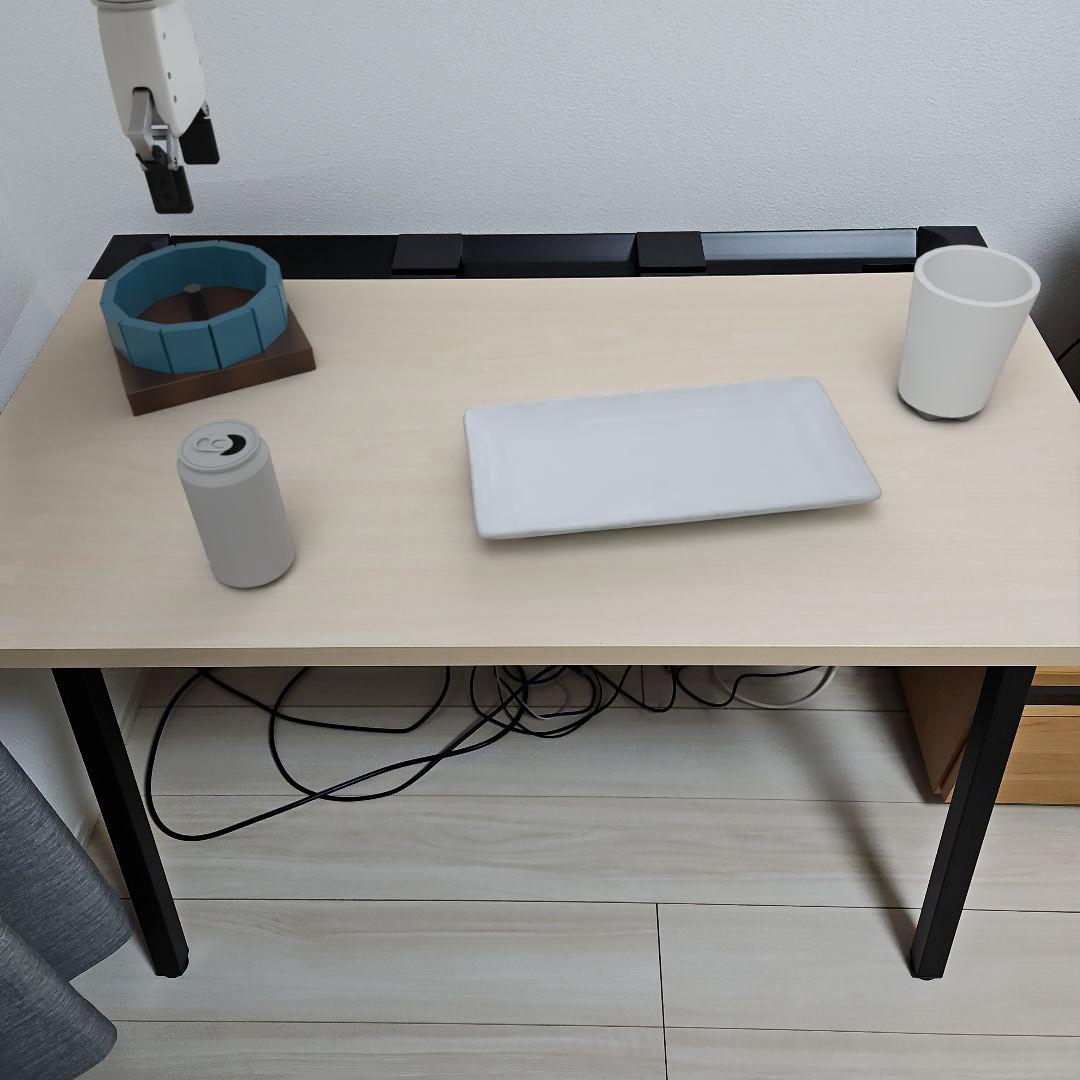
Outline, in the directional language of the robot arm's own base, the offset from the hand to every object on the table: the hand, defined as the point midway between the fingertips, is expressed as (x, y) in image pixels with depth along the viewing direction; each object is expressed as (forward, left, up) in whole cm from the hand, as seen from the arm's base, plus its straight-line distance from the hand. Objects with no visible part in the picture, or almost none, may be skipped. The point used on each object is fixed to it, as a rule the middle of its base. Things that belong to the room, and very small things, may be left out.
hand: (189, 186), depth 93 cm
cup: (+56, -38, -16) cm, 70 cm away
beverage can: (-5, -32, -16) cm, 37 cm away
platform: (-2, 0, -16) cm, 16 cm away
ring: (-2, 0, -13) cm, 13 cm away
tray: (+28, -37, -16) cm, 49 cm away
